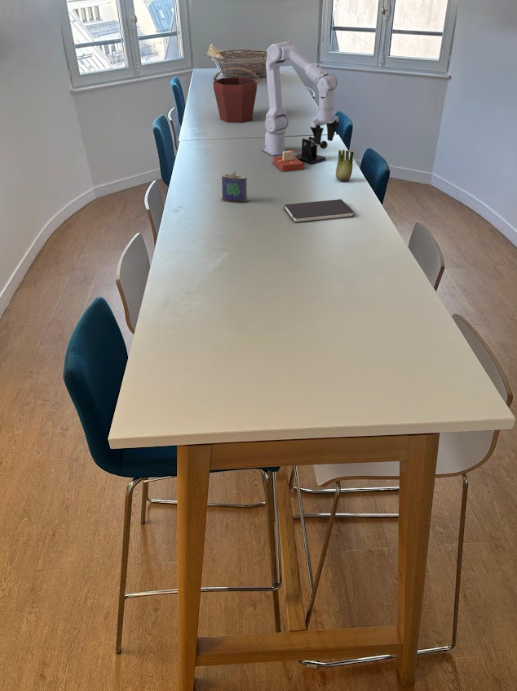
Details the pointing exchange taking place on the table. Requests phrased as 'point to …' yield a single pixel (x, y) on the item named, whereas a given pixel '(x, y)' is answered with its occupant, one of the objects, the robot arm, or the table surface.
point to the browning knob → (288, 155)
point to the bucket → (235, 96)
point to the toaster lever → (322, 144)
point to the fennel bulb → (344, 165)
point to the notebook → (318, 210)
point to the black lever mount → (309, 152)
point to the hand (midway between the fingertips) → (323, 142)
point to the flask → (234, 188)
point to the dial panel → (288, 164)
